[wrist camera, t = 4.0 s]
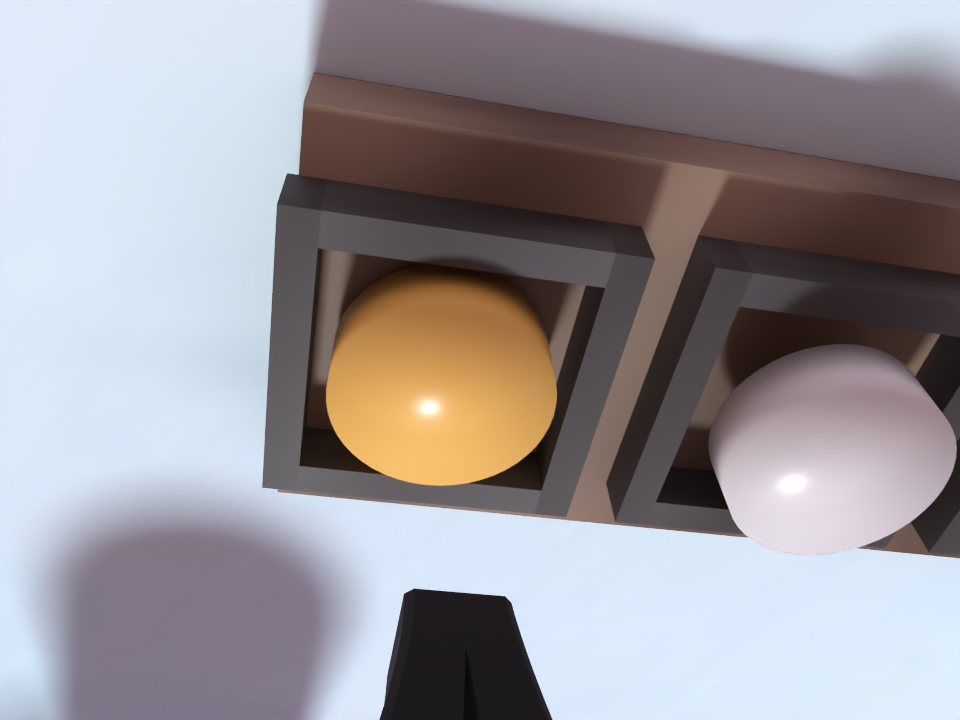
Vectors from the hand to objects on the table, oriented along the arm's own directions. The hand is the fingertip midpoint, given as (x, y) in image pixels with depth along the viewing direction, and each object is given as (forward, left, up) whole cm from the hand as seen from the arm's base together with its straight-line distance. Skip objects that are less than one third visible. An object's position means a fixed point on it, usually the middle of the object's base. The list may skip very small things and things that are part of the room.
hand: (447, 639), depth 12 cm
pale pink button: (-7, +4, -6) cm, 9 cm away
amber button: (0, 0, -6) cm, 6 cm away
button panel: (-6, +4, -8) cm, 11 cm away
